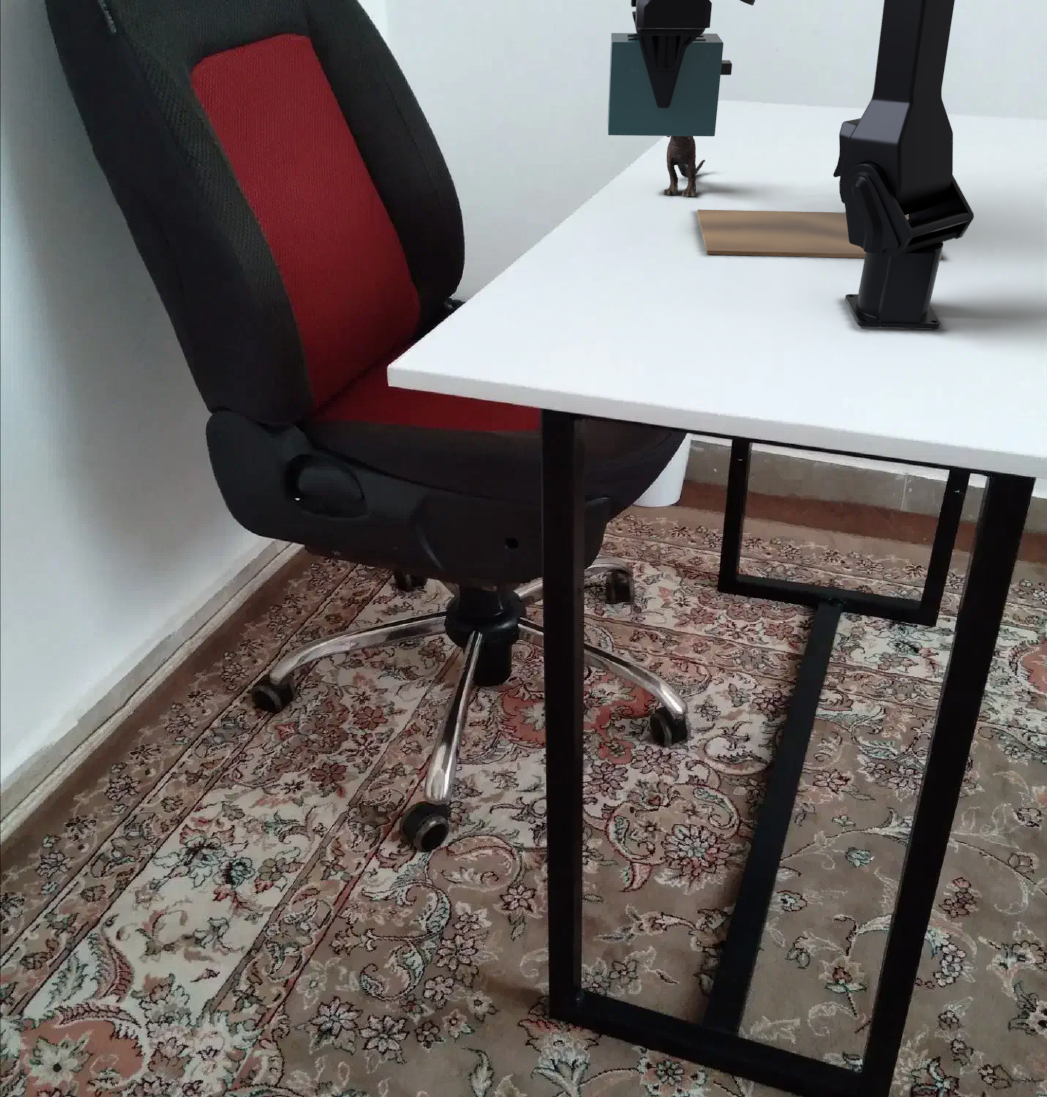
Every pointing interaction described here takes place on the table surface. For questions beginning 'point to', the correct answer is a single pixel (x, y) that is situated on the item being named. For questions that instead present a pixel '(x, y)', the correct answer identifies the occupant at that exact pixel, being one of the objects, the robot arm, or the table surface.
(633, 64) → the toaster
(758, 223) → the mat
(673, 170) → the dinosaur model
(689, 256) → the table surface
